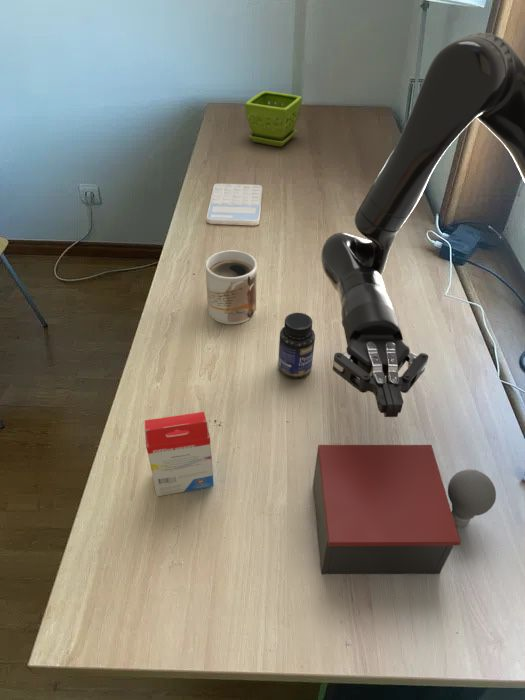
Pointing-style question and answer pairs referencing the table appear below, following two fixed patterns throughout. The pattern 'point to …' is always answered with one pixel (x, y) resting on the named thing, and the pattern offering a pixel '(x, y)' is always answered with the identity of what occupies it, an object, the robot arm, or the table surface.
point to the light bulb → (470, 495)
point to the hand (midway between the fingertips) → (392, 412)
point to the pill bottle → (296, 346)
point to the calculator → (235, 204)
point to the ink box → (179, 453)
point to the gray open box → (372, 550)
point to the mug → (231, 286)
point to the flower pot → (272, 117)
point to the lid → (384, 496)
